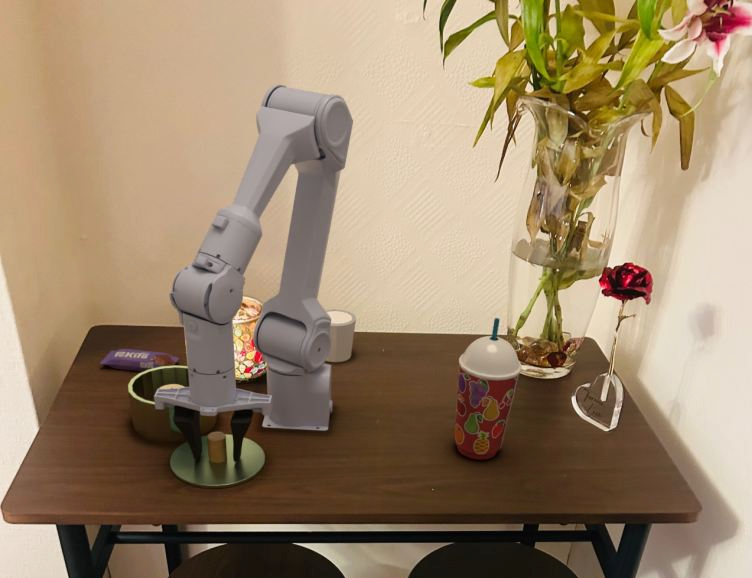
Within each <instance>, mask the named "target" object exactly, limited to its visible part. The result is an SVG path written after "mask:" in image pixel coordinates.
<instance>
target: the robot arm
mask: <svg viewBox="0 0 752 578" xmlns="http://www.w3.org/2000/svg"><path fill="white" fill-rule="evenodd" d="M255 117H256V118H255V119H256V128H257V133H258V137H257V139H256V143H255V144H254V147H253V150H252V152H251V155H250V158H249V160H248V163H247V165H246V168H245V171H244V173H243V176H242V178H241V181H240V184H239V186H238V189H237V191H236V194H235V197H234V199H233V202H232V204H231V205H228V206H225V207H222V208H220V209H218V210H217V212H216V214H215V215H214V218H213V220H212V222H211V224H210V226H209V228H208V230H207V232H206V234H205V236H204V238H203V240H202V242H201V244H200V246H199V249H198V251H197V253H196V254H195V256H194V258H193V261H192V263H191V264H189V265H187V266H185V267H184V268H182V269H180V270H179V271H178V272H177V274H176V275H175V277H174V279H173V281H172V285H171V292H169V293H168V297H169V301H170V304H171V305H172V307H173V308H174V309H175V310H176V311H177V313H178V317H179V323H180V324H181V325H182V326H183V331H184V332H183V333H184V343H185V353H186V366H188V376H189V387H183V388H174V389H157V391H156V393H155V395H154V401H155V409H160V410H163V409H165V407H172V408H174V415H173V422H174V424H175V425H176V426H177V427H178V429H179V430H180V431H181V432H182V434H183V435H184V437H185V438H186V440H187V441H186V442H188V444H189V446H190V448H191V451H192V454H193V457H194V459H197V460H199V459H200V456H201V453H202V439H201V437H202V436H201V432H200V414H201V415H203V416H215V415H216V416H217V415H218V414H219V413H224V412H225V413H226V412H233V414H232V416H231V418H230V423H229V425H230V429H231V435H232V436H233V460H234V462H239V460H240V457H241V451H242V443H243V439H244V438H245V436H246V434H247V432H248V430H249V428H250V426H251V423H252V420H253V417H254V413H261V415H263V416H264V417H263V421H262V424H261V427H263V428H271V429H286V430H289V429H290V430H308V431H328V430H329V424H330V416H331V413H333V406H334V405H333V404H334V403H333V401H334V400H332V378H333V377H332V376H333V374H332V373H333V372H332V371H333V369H332V367H333V366H332V364H329V363H326V362H327V361H326V360H327V358H328V355H329V352H330V348H331V339H330V325H331V318H330V316H329V315H328V313H327V312H326V311H325V310H326V309H325V308H324V307H323V305H322V304H321V302H319V300H318V298H319V292H320V286H321V281H322V276H323V269H324V265H325V259H326V254H327V248H328V243H329V238H330V231H331V227H332V221H333V216H334V211H335V205H336V200H337V193H338V188H339V183H340V177H341V173H342V170H344V169H345V168H346V163H347V158H348V152H349V147H350V143H351V142H350V141H351V135H352V130H353V125H354V119H353V117H352V114H351V111H350V109H349V106H348V104H347V102H346V100H345V99H344V98H343V97H342V96H341V95H339V94H333V93H331V94H327V93H320V92H315V91H310V90H304V89H299V88H293V87H287V86H286V85H284V84H283V85H282V84H275V85H272V86H271V87H269V88H268V89H267V91H266V92H265V94H264V95H263V98H262V102H261V105H260V108H259V109H258V111H257V113H256V116H255ZM292 165H294V167H295V169H296V171H297V180H296V186H295V193H294V199H293V205H292V210H291V216H290V217H291V218H290V223H289V228H288V229H289V230H288V235H287V239H286V240H287V241H286V247H285V253H284V259H283V265H282V271H281V275H280V282H279V290H278V292H277V293H276V294H274V295H273V296H272V297H270V298H268V299H267V300H265V301H263V303H262V304H261V311H260V315H259V317H258V319H257V321H256V323H255V326H254V328H253V333H252V342H253V346H254V348H255V350H256V351H257V352H258V353H259V354H261V361H262V362H263V363H265V364H266V391H267V393H266V394H264V393H257V392H253V391H250V390H245V389H242V388H237V382H236V381H237V380H236V379H237V378H236V359H235V342H234V341H235V339H234V338H235V337H234V322H233V319H234V318H235V317H236V316H237V314H238V312H239V311H240V309H241V308H242V305H243V299H244V286H245V284H246V282H245V281H246V278H245V276H244V275H245V273H246V271H247V268H248V266H249V264H250V262H251V260H252V258H253V256H254V254H255V252H256V250H257V247H258V245H259V243H260V241H261V239H262V238H263V229H262V226H261V222H260V221H261V220H260V218H261V217H262V215H263V213H264V211H265V210H266V208H267V206H268V205H269V203H270V201H271V199H272V198H273V196H274V195H275V193H276V191H277V190H278V188H279V186H280V185H281V183H282V181H283V179H284V178H285V176H286V175H287V172H288V171H289V169H290V167H291V166H292Z"/></svg>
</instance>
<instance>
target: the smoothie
mask: <svg viewBox="0 0 752 578" xmlns="http://www.w3.org/2000/svg"><path fill="white" fill-rule="evenodd" d="M500 321H501V320H500V318H499V317H494V320H493V326H492V331H491V332H492V333H491V335H487V336H482V337H478V338H477V339H475V340H473V341H472V342H471V343H470V344H469V345H468V346H467V348H466V349H465V351H464V352H463V353H462V354H461V355H460V356H459V358H458V372H457V373H458V374H457V389H456V406H455V419H454V420H455V421H454V436H453V439H454V443H455V445H456V448H457V451H458V452H459V454H461V455H462V456H465V457H467V458H469V459H472V460H480V461H482V460H489V459H492V458H494V457H495V456H496V455H497V453H498V451H500V450H501V448H502V446H503V442H504V438H505V434H506V431H507V426H508V422H509V418H510V415H511V411H512V406H513V404H514V398H515V394H516V390H517V386H518V382H519V379H520V373H521V371H522V368H523V367H522V363H521V362H520V360H519V357H518V354H517V351H516V350H515V347H513V345H512V344H511V343H510V342H508V341H507V340H506V339H504V338H502V337H499V336H498V332H499V325H500Z"/></svg>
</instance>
